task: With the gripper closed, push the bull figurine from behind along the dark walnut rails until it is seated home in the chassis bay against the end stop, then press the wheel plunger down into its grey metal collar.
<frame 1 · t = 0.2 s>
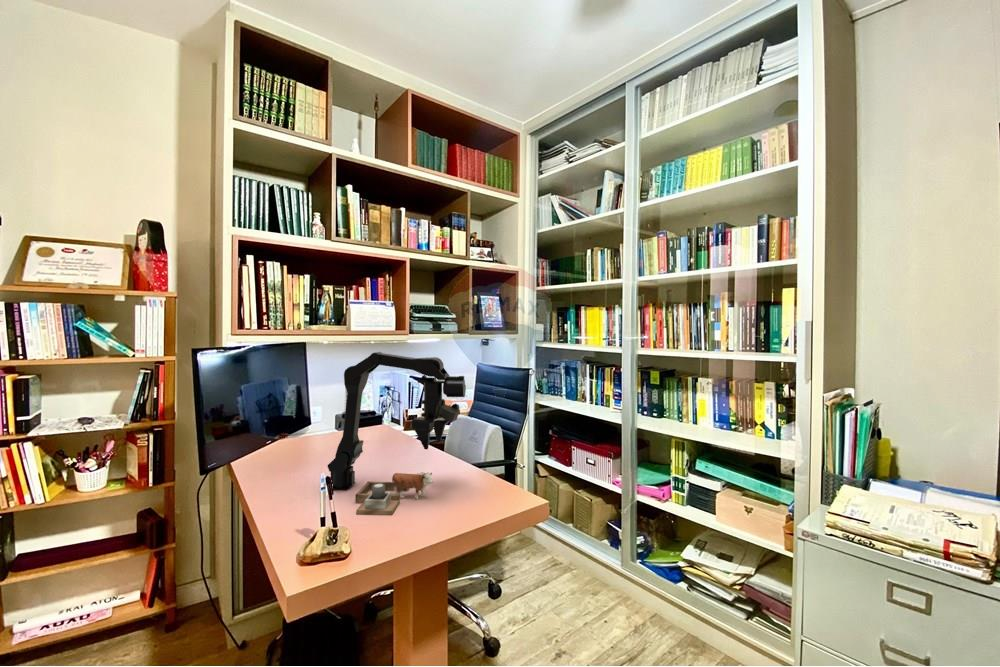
hand: (432, 445, 131), 14 cm above the table, fingers open, 9 cm apart
bull figurine: (413, 497, 126), on the table
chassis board: (387, 496, 126), on the table
wheel plunger: (378, 490, 117), point 5 cm above the table, slide at 0.0 cm
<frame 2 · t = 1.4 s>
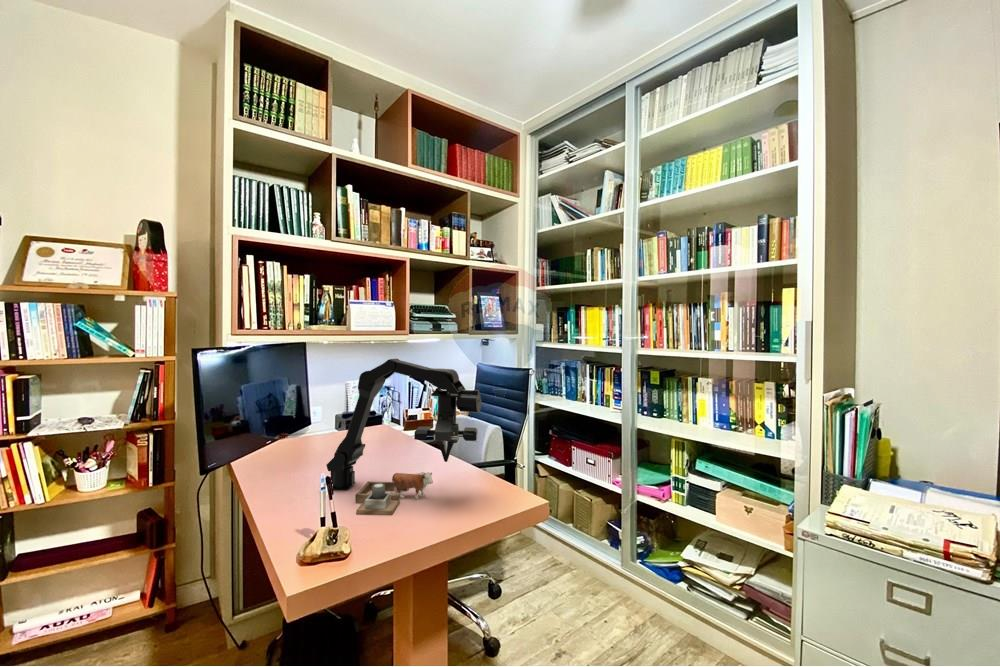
hand: (446, 461, 125), 11 cm above the table, fingers closed
nothing on the table moved.
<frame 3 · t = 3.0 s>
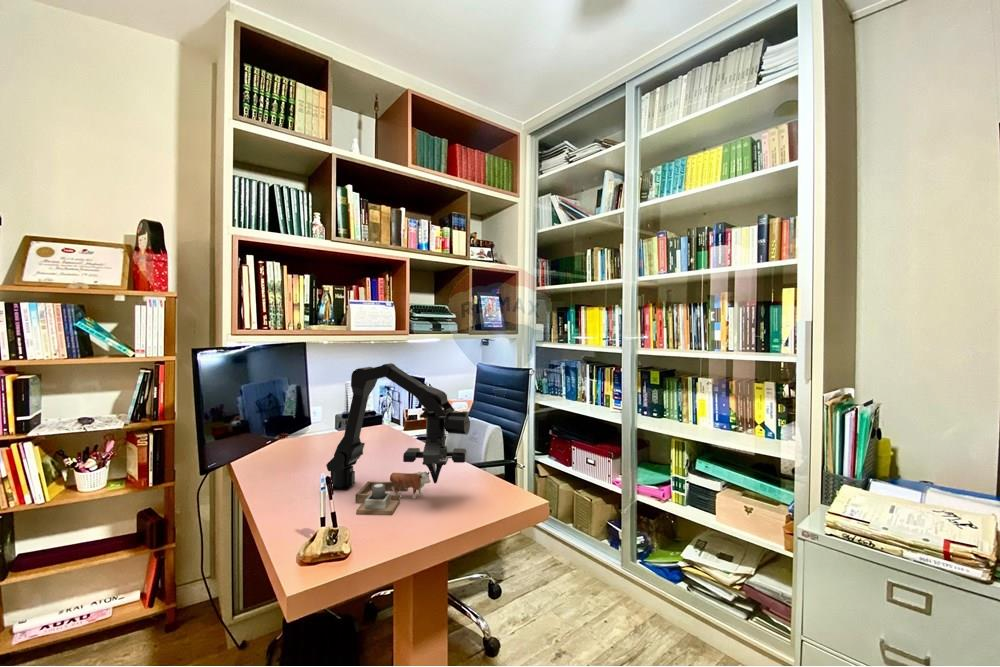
hand: (435, 483, 125), 4 cm above the table, fingers closed
bull figurine: (411, 497, 126), on the table, touching gripper
everything else where it was.
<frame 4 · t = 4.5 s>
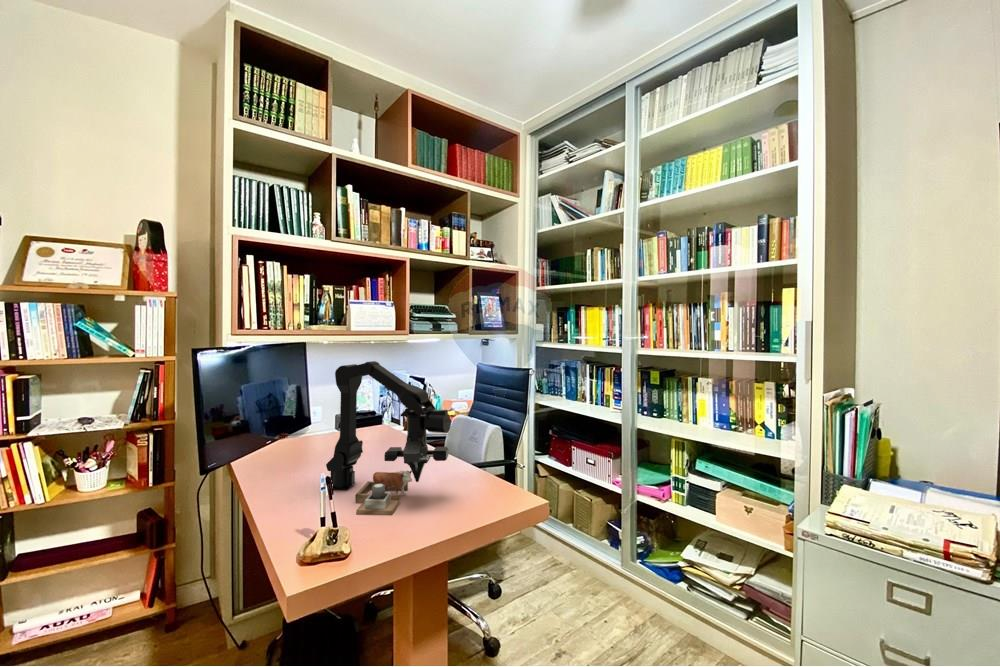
hand: (417, 481, 125), 5 cm above the table, fingers closed
bull figurine: (394, 496, 126), on the table, touching gripper
everything else where it was.
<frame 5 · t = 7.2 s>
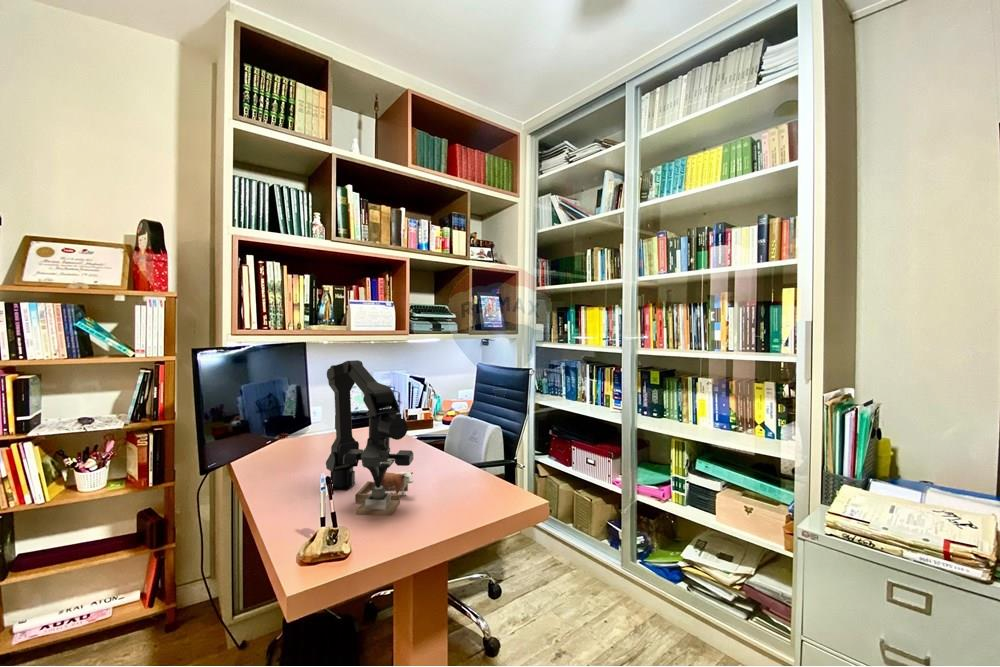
hand: (378, 487, 117), 6 cm above the table, fingers closed, pressing on wheel plunger
bull figurine: (394, 496, 126), on the table
wheel plunger: (378, 492, 117), point 5 cm above the table, slide at 0.5 cm, touching gripper
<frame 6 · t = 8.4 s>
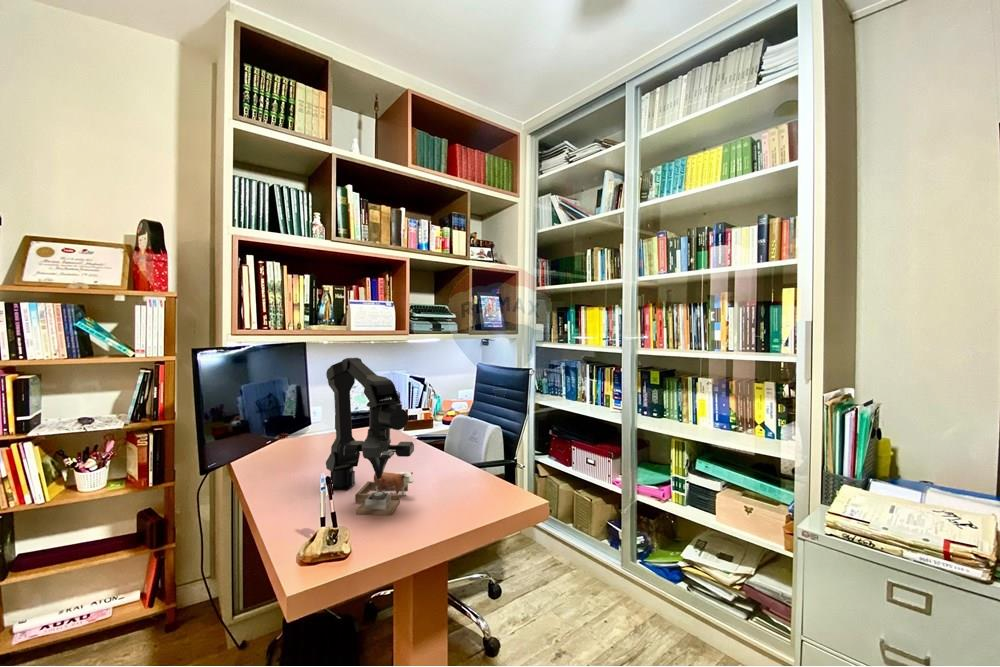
hand: (379, 478, 117), 9 cm above the table, fingers closed
wheel plunger: (378, 499, 117), point 3 cm above the table, slide at 2.4 cm
everything else where it was.
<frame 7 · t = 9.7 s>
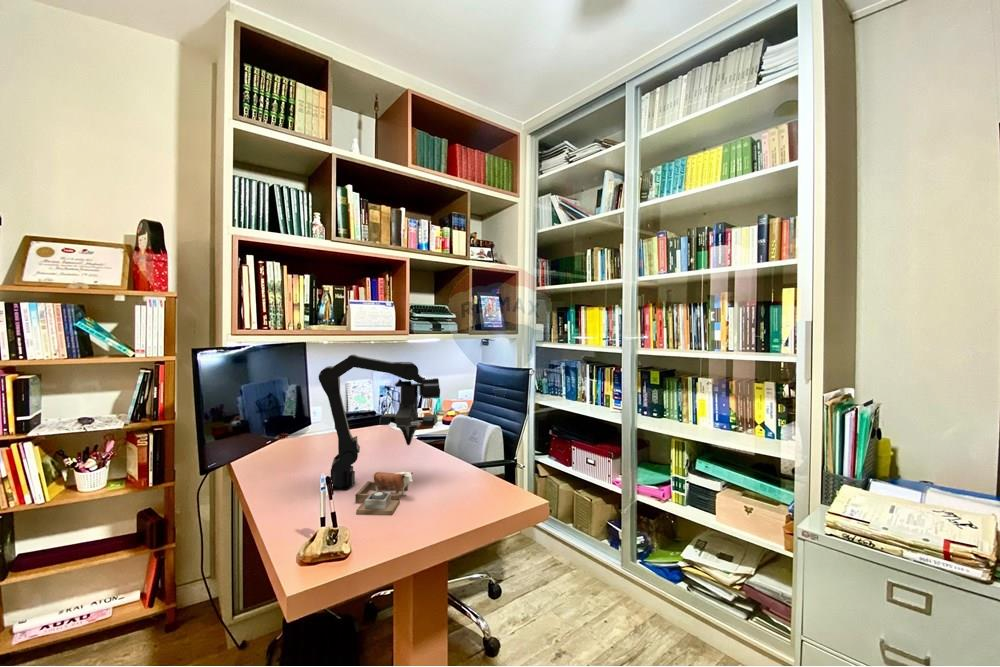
hand: (408, 444, 139), 12 cm above the table, fingers closed
nothing on the table moved.
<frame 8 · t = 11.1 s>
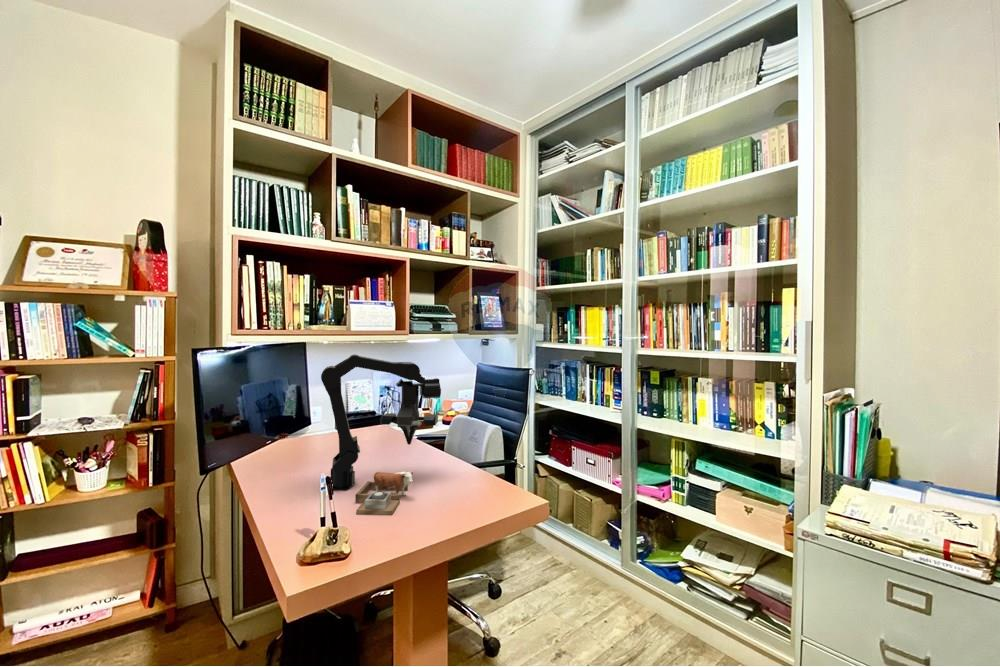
hand: (409, 444, 141), 12 cm above the table, fingers closed
nothing on the table moved.
at the end: bull figurine inside the target area on the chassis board (3.0 cm from its centre), point 0.0 cm above the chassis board's base; bull figurine tilted 0°; wheel plunger slide at 2.4 cm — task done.
